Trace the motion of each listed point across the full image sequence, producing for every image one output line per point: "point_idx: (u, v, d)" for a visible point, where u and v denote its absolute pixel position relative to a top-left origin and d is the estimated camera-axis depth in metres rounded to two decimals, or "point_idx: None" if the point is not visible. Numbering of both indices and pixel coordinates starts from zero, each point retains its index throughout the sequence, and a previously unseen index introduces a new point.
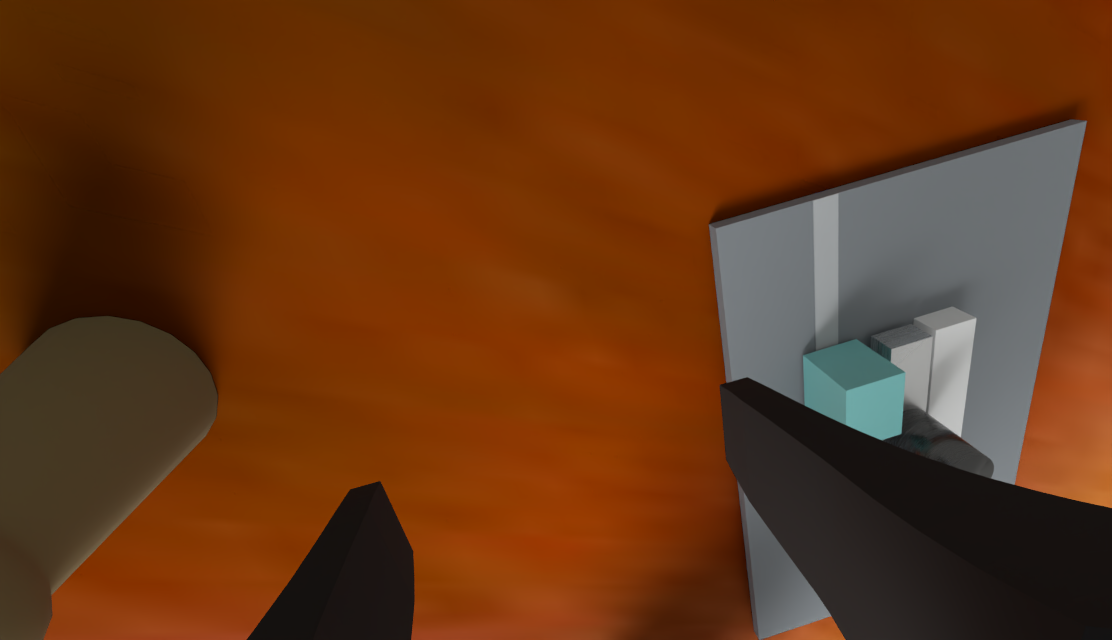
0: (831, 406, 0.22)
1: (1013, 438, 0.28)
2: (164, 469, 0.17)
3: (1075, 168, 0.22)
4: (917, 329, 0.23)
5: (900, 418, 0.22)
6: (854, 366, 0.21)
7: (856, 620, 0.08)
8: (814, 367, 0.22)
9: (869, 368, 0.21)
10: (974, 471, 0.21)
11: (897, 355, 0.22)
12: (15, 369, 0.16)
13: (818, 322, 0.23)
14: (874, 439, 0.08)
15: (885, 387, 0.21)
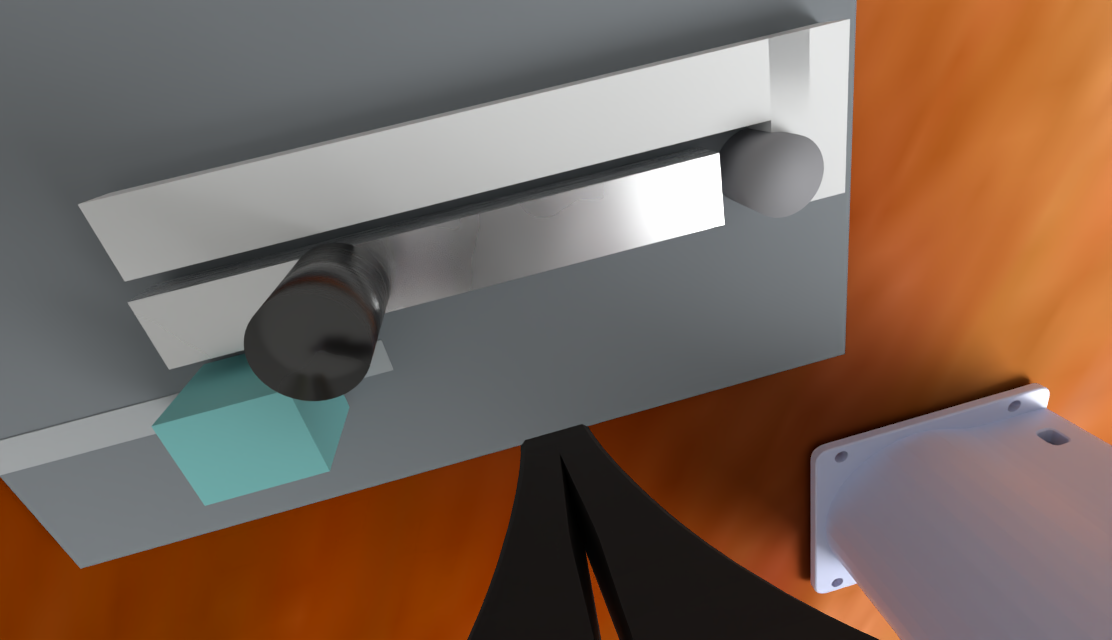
0: None
1: None
2: None
3: None
4: None
5: (258, 395, 0.12)
6: None
7: None
8: None
9: None
10: (288, 342, 0.10)
11: (179, 355, 0.13)
12: None
13: None
14: (652, 505, 0.08)
15: (189, 448, 0.12)
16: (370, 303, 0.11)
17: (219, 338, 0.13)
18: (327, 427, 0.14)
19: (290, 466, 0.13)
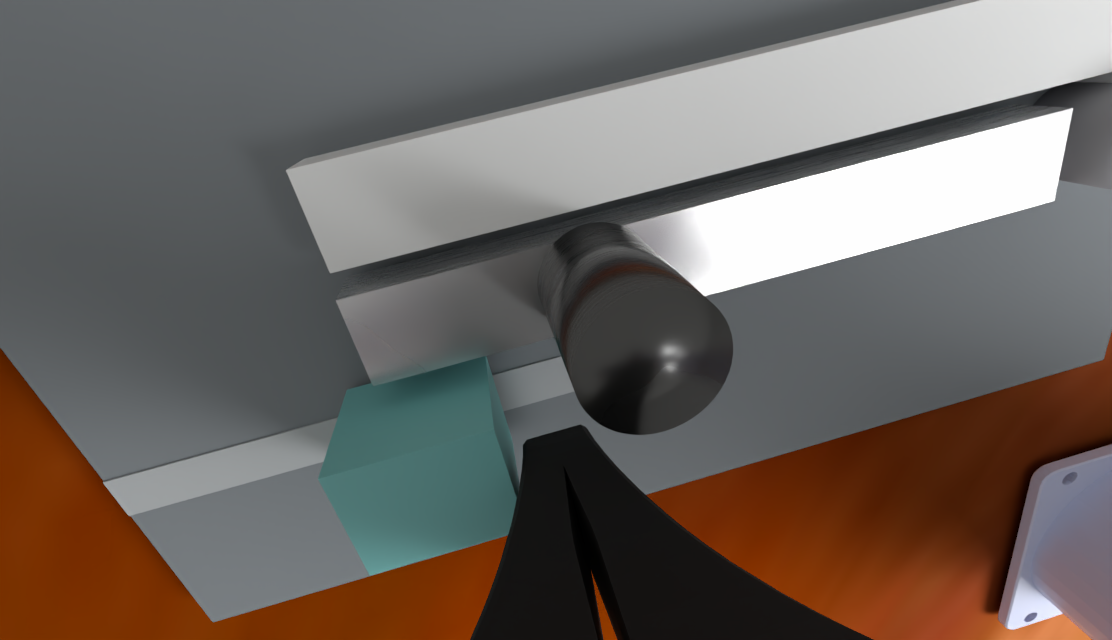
0: None
1: None
2: None
3: None
4: None
5: (454, 436, 0.09)
6: None
7: None
8: None
9: None
10: (631, 354, 0.07)
11: (388, 368, 0.10)
12: None
13: None
14: (650, 505, 0.08)
15: (360, 506, 0.09)
16: None
17: (439, 346, 0.10)
18: (513, 470, 0.11)
19: (480, 525, 0.10)
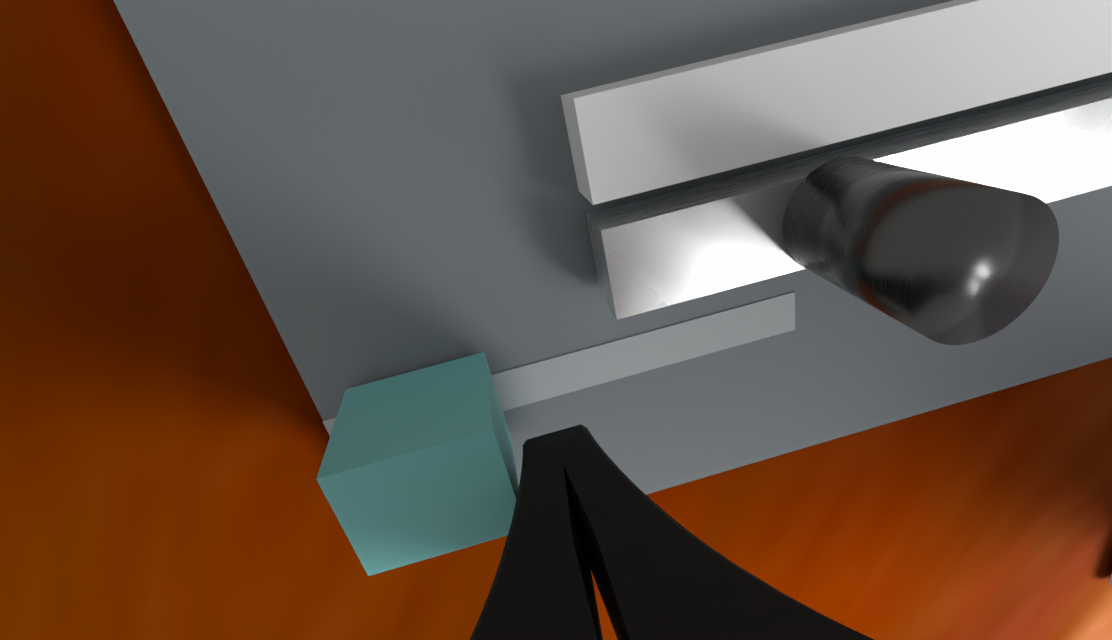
0: None
1: None
2: None
3: None
4: (592, 225, 0.10)
5: (453, 436, 0.09)
6: None
7: None
8: None
9: None
10: (968, 261, 0.07)
11: (634, 301, 0.10)
12: None
13: (563, 389, 0.13)
14: (650, 505, 0.08)
15: (359, 506, 0.09)
16: None
17: (684, 280, 0.10)
18: (512, 470, 0.11)
19: (479, 525, 0.10)
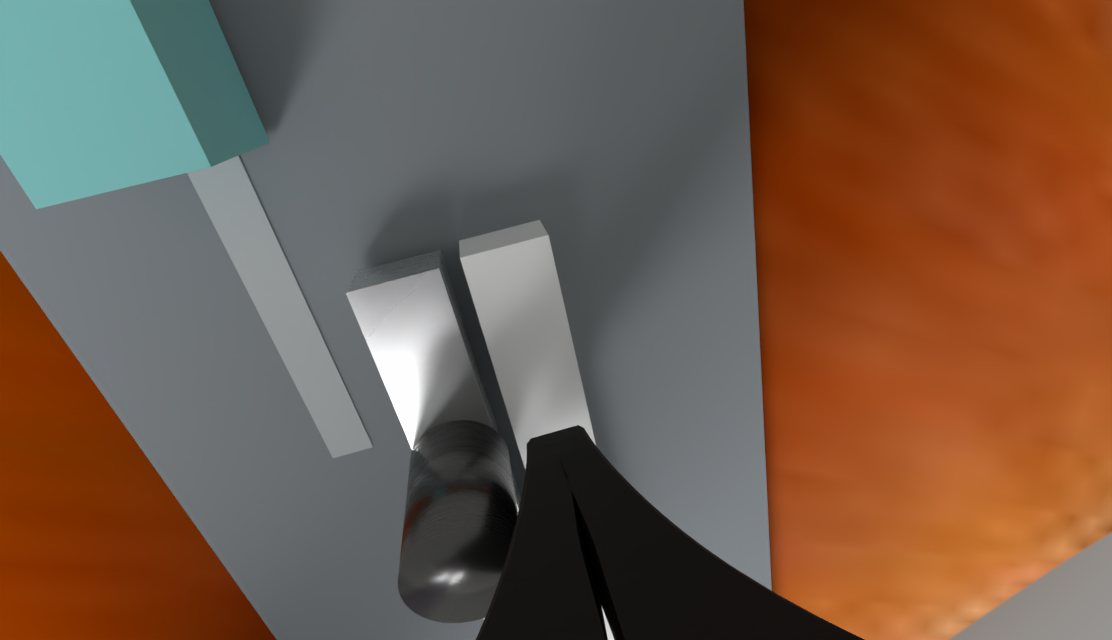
0: None
1: (746, 474, 0.16)
2: None
3: None
4: (435, 257, 0.11)
5: (189, 115, 0.07)
6: None
7: None
8: None
9: None
10: (473, 564, 0.09)
11: (367, 307, 0.10)
12: None
13: (228, 238, 0.11)
14: (646, 507, 0.08)
15: None
16: None
17: (393, 350, 0.11)
18: None
19: (32, 144, 0.07)
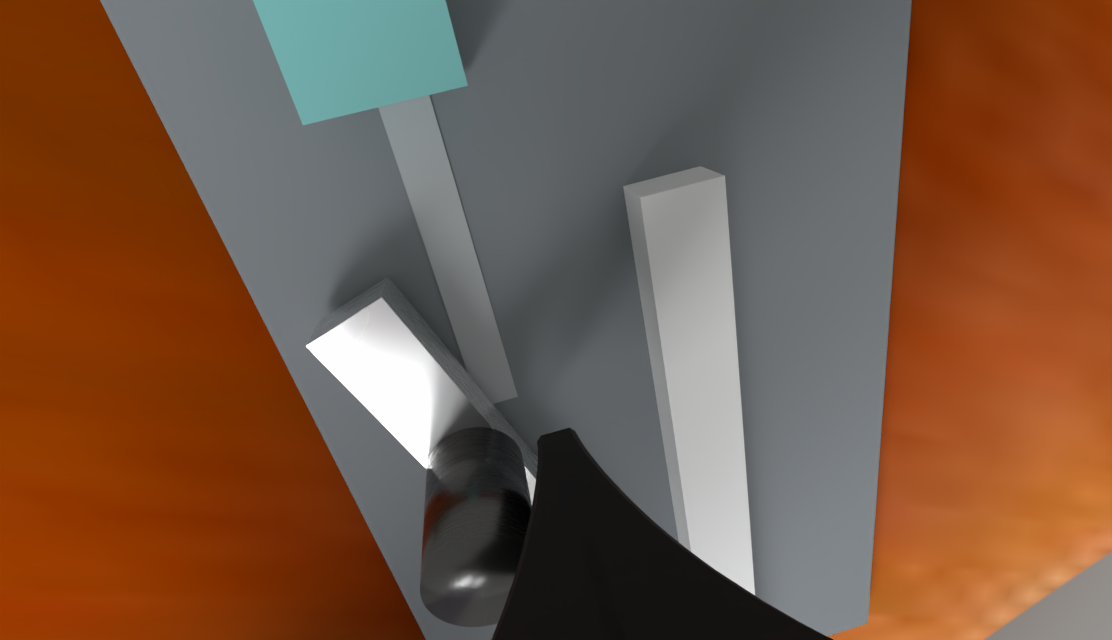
0: None
1: (862, 431, 0.16)
2: None
3: None
4: (381, 286, 0.11)
5: None
6: None
7: None
8: None
9: None
10: (486, 568, 0.10)
11: (331, 353, 0.11)
12: None
13: (409, 179, 0.11)
14: (634, 510, 0.08)
15: None
16: None
17: (371, 384, 0.11)
18: None
19: (310, 59, 0.07)
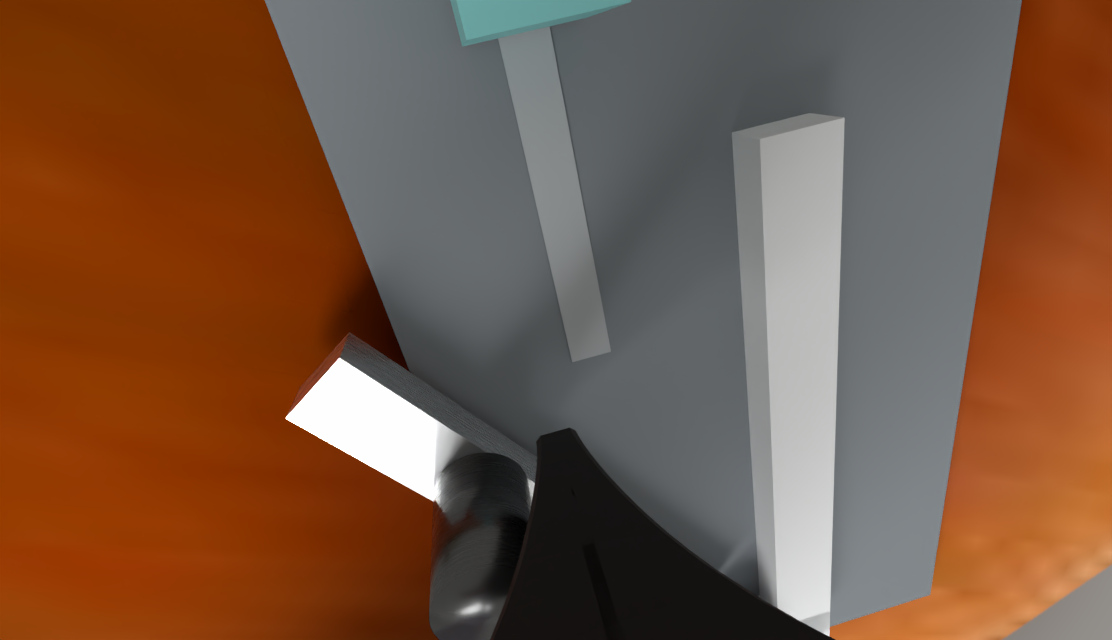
0: None
1: (942, 394, 0.16)
2: None
3: None
4: (342, 345, 0.11)
5: None
6: None
7: None
8: None
9: None
10: (488, 597, 0.10)
11: (310, 419, 0.11)
12: None
13: (523, 121, 0.11)
14: (635, 510, 0.08)
15: None
16: None
17: (357, 438, 0.12)
18: (504, 33, 0.08)
19: None
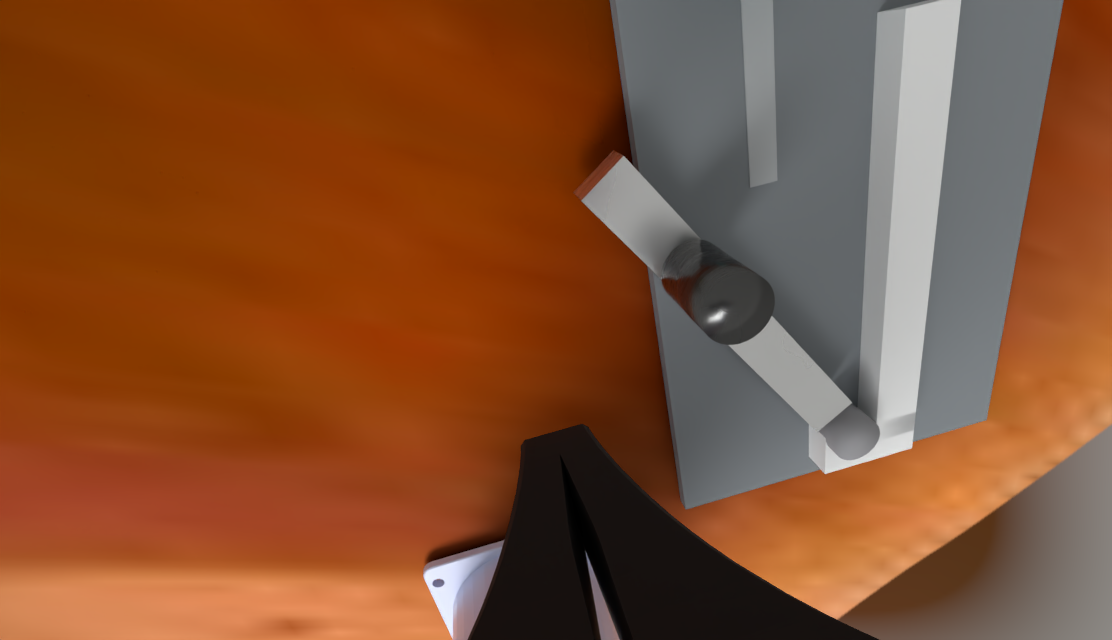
0: None
1: (1006, 235, 0.22)
2: None
3: None
4: (615, 154, 0.17)
5: None
6: None
7: None
8: None
9: None
10: (739, 297, 0.15)
11: (596, 202, 0.17)
12: None
13: None
14: (652, 505, 0.08)
15: None
16: None
17: (622, 220, 0.17)
18: None
19: None
